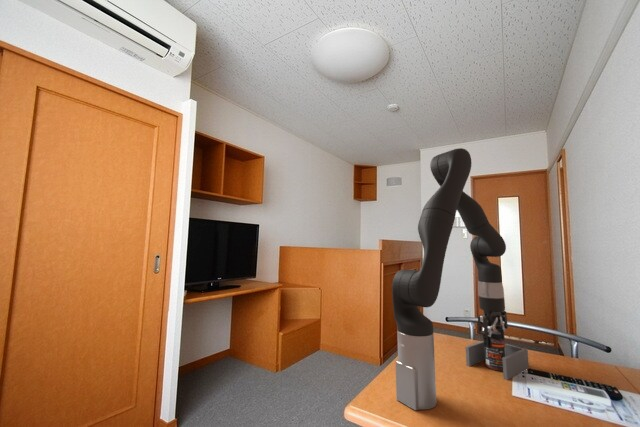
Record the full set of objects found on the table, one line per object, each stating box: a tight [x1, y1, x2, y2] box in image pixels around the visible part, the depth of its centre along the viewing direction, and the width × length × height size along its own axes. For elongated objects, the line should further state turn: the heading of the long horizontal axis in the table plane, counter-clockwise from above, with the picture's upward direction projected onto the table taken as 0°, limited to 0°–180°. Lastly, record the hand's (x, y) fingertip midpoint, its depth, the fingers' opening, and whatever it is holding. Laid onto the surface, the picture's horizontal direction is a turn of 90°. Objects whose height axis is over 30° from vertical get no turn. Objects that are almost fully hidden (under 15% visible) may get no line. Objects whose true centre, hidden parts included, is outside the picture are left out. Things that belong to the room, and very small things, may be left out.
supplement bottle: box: [484, 330, 506, 372], centre depth 94 cm, size 6×6×11 cm
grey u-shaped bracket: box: [465, 340, 530, 381], centre depth 95 cm, size 15×12×6 cm
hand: (494, 345), depth 95 cm, fingers open, 8 cm apart
